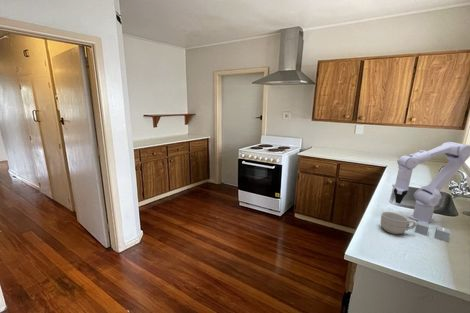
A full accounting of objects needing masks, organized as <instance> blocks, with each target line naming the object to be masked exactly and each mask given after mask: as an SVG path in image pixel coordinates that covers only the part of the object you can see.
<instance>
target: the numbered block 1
mask: <svg viewBox="0 0 470 313" xmlns="http://www.w3.org/2000/svg"><path fill="white" fill-rule="evenodd" d="M450 235H451V230H450V229H449V228H445V227H442V226H439V225H437V226H436V228H435V232H434V239H436V240H440V241H443V242H445V243H448V242H449V239H450Z"/></svg>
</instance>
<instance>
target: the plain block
mask: <svg viewBox="0 0 470 313" xmlns="http://www.w3.org/2000/svg"><path fill="white" fill-rule="evenodd" d="M429 228H430V223H424V222H420V221H417V220H416V227H415V230H414V232H415V233H416V234H419V235H423V236H425V237H426V236H428V233H429Z"/></svg>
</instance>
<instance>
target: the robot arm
mask: <svg viewBox="0 0 470 313" xmlns="http://www.w3.org/2000/svg"><path fill="white" fill-rule="evenodd" d="M441 155H445V157H446V159H447V163H446V164H445V165H444V166H443V167H442V168H441V170H439V172H438V173H437V174H436V175H435V177H433V179H432V180H431V181H430V182H429V184H428V185H424V186H421V187H420V188H419V189H417V190H416V191H415V192H414V193H413V198H414V200H415V205H414V209H413V214H411V215H409V217H408V218H411V220H412V219H413V220H414V221H416V222H417V221H420V222H424V223H427V224H430V223H431V222H433V221H434V218H433V216H434V211H435V207H436V206H438V205H439V203H440V201H441V200H442V198H443V197H442V195H441V191H442V190H443V188H445V186H447V184H448V183H449V181H450V180H451V179H452V178H453V177H454V176H455V174H456V173H457V172H458V171H460V169H461V168H462V167H463V165H465V162H466V161H467V160H468V159H469V158H470V144H464V143H458V142H454V141H447V142H444V143H442V144H441V145H439V146H436V147H434V148H432V149H429V150H421V149H420V150H418V152H414V153H410V154H409V155H402V156H400V157H399V158H398V160H397V165H398V166H397V168H398V170H397V175H396V180H395V184H394V183H392V186H391V187H394V189H393V192H394V197H395V198H394V200H395V201H394V202H395V204H399V205H401V203H402V201H403V199H404V198H405V196H406V195H407V194H408V191H409V187H410V182H411V179H412V178H411V177H412V174H413V170H414V169H415V168H417V166H419V165H420V164H421V165H422V164H424V163H426V162H429V161H430V160H431V158H434V157H438V156H441Z"/></svg>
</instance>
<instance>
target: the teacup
mask: <svg viewBox="0 0 470 313" xmlns="http://www.w3.org/2000/svg"><path fill="white" fill-rule="evenodd" d="M406 217H407V216H405V215H403V214H400V213H397V212H392V211H383V212H381V217H380V226H381V227H382V229H383V230H384V231H386V232H387V233H390V234H392V235H401V234H403V233H405V232H406V231H407V230H412V229H414V228H416V224H417V222H416V220H414V219H413V220H412V219H410V220H408V218H409V217H408V218H406ZM408 223H409V224H410V223H412V225H411V226H409V227H407V225H408Z"/></svg>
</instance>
